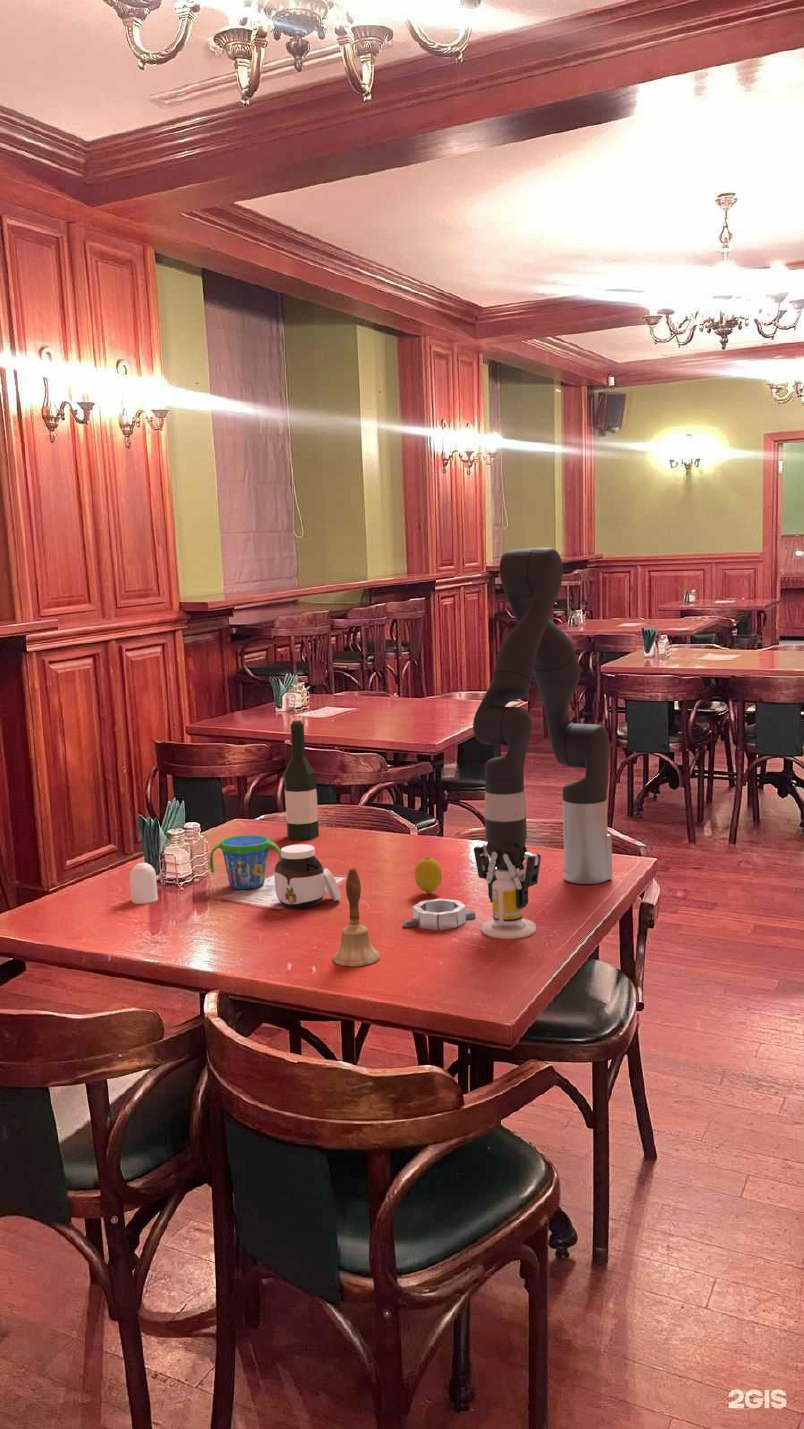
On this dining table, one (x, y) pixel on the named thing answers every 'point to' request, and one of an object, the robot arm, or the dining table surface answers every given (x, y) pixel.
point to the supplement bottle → (505, 899)
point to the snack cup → (245, 859)
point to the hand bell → (355, 931)
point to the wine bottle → (300, 790)
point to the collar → (439, 914)
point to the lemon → (428, 875)
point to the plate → (509, 929)
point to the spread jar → (302, 878)
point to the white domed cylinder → (143, 884)
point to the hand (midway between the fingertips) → (508, 904)
